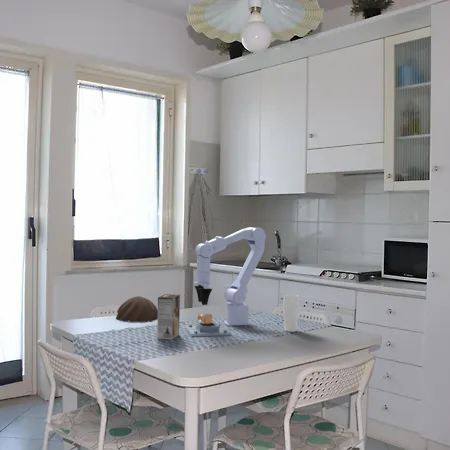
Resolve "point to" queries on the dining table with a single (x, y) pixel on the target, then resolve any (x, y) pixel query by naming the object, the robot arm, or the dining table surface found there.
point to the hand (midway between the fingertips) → (202, 303)
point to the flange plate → (207, 330)
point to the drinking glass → (291, 311)
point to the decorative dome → (137, 310)
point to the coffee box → (168, 316)
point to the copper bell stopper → (205, 319)
